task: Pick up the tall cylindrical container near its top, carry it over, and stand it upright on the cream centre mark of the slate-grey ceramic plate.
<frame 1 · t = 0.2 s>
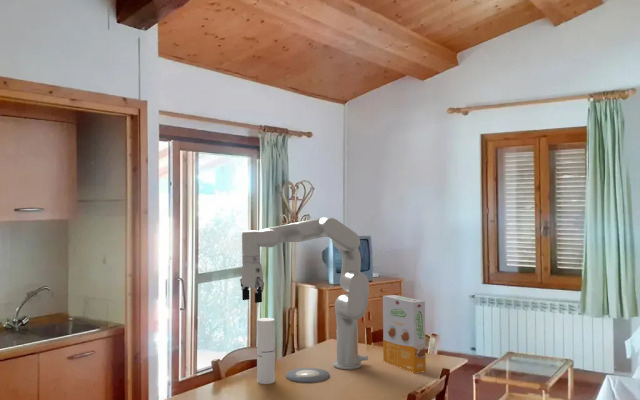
hand: (252, 301, 230), 32 cm above the table, tool pointing down, fingers open, 9 cm apart
cereal box: (403, 366, 246), on the table
plate: (307, 376, 231), on the table
cylindrical container: (266, 381, 225), on the table
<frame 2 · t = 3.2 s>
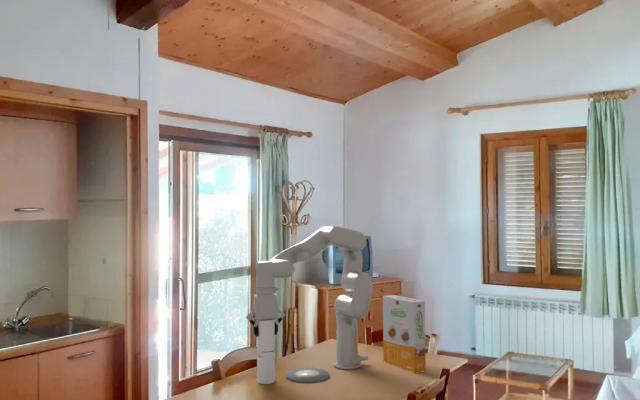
hand: (265, 334, 225), 19 cm above the table, tool pointing down, fingers closed on cylindrical container, 7 cm apart
cylindrical container: (266, 381, 225), on the table, touching gripper
everything else where it was.
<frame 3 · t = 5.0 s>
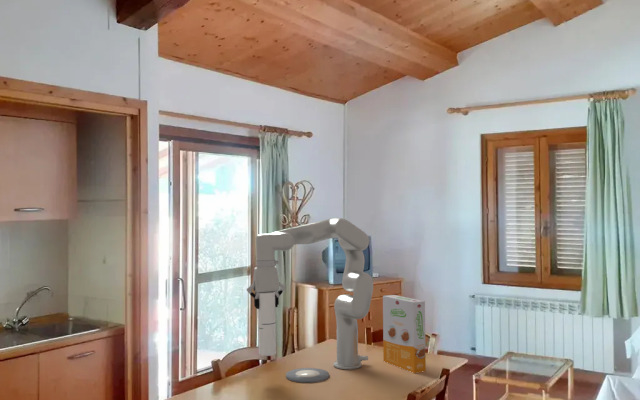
hand: (266, 307, 226), 30 cm above the table, tool pointing down, fingers closed on cylindrical container, 7 cm apart
cylindrical container: (267, 354, 225), point 11 cm above the table, touching gripper
everything else where it was.
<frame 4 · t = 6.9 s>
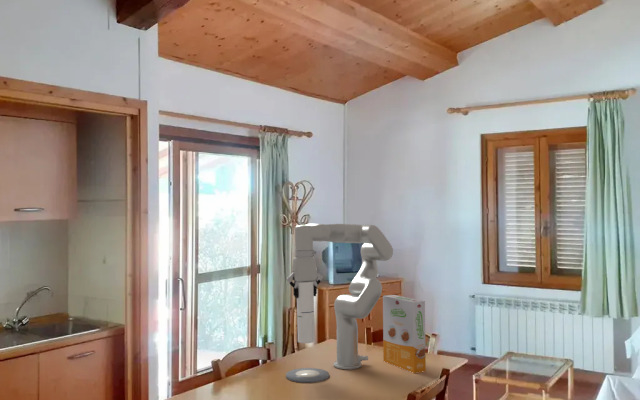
hand: (305, 296, 232), 33 cm above the table, tool pointing down, fingers closed on cylindrical container, 7 cm apart
cylindrical container: (306, 341, 232), point 14 cm above the table, touching gripper
everything else where it was.
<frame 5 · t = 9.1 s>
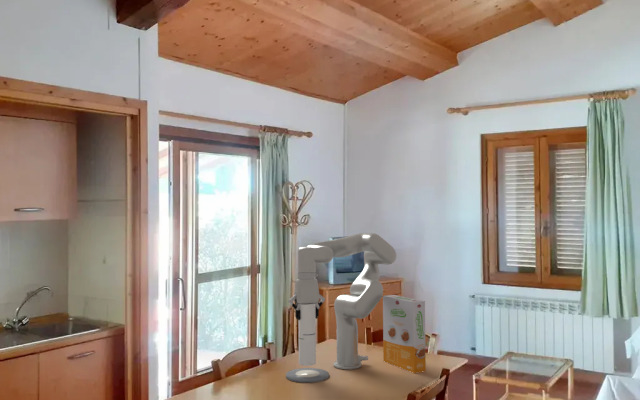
hand: (307, 318, 232), 24 cm above the table, tool pointing down, fingers closed on cylindrical container, 7 cm apart
cylindrical container: (307, 363, 231), point 5 cm above the table, touching gripper
everything else where it was.
when the fingers open (21 cm above the table, at t = 11.0 s): cylindrical container drops 1 cm, resting on plate.
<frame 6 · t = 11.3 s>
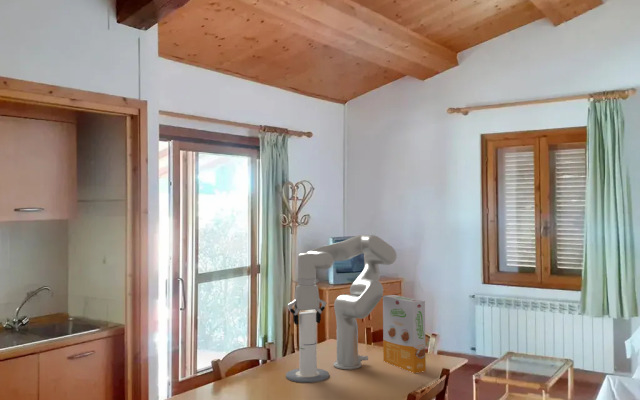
hand: (307, 323, 232), 22 cm above the table, tool pointing down, fingers open, 9 cm apart
cylindrical container: (308, 373, 232), point 1 cm above the table, touching plate
everything else where it was.
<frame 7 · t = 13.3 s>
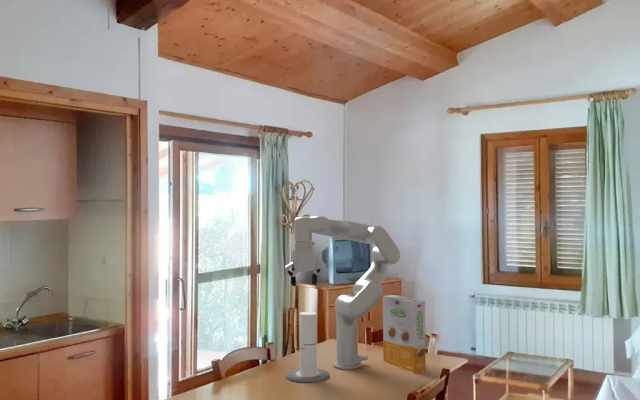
hand: (304, 285, 239), 37 cm above the table, tool pointing down, fingers open, 9 cm apart
nothing on the table moved.
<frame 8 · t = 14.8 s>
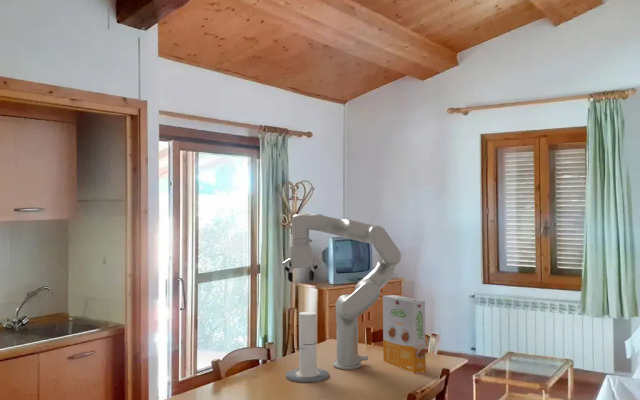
hand: (301, 280, 245), 38 cm above the table, tool pointing down, fingers open, 9 cm apart
nothing on the table moved.
at the end: cylindrical container inside the target area on the plate (0.3 cm from its centre), point 1.0 cm above the plate's base; cylindrical container tilted 0°; the gripper is holding nothing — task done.
